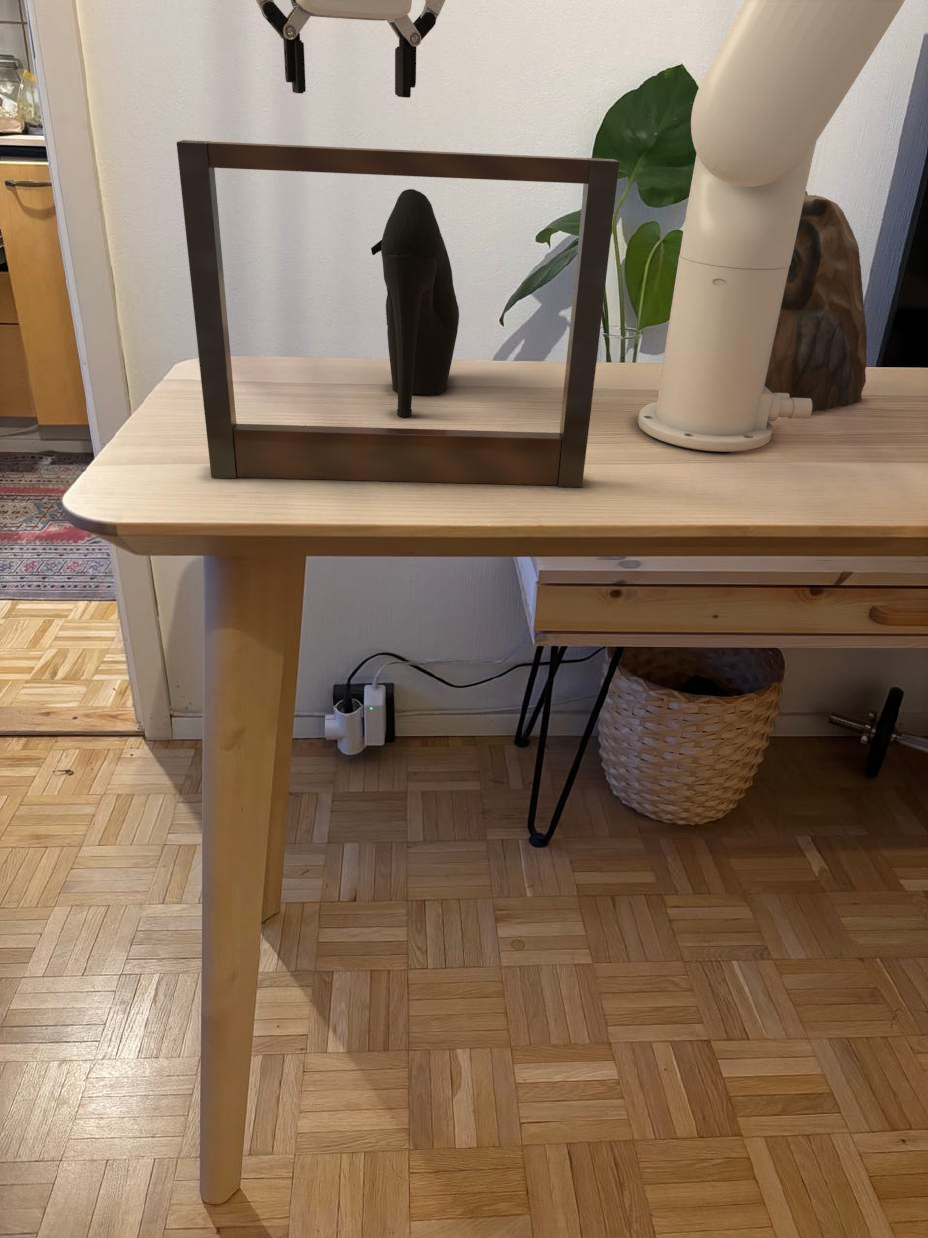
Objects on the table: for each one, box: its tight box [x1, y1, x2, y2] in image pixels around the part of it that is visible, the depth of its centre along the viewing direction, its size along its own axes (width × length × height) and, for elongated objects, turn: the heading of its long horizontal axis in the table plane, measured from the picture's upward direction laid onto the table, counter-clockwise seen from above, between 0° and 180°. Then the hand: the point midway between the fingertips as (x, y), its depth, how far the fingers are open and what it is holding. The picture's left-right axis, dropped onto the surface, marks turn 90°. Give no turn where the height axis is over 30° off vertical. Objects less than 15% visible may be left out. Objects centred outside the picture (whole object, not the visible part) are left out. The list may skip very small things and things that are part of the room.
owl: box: [764, 190, 868, 413], centre depth 96 cm, size 13×13×20 cm
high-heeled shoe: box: [370, 188, 460, 417], centre depth 90 cm, size 8×19×20 cm, turn 174°
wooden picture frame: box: [176, 139, 620, 488], centre depth 69 cm, size 30×2×24 cm, turn 92°
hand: (351, 94), depth 84 cm, fingers open, 9 cm apart
